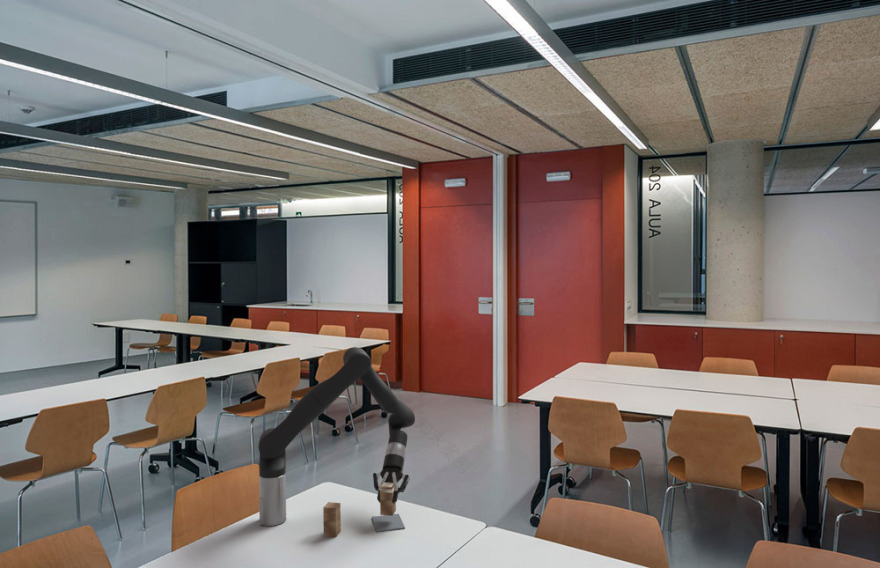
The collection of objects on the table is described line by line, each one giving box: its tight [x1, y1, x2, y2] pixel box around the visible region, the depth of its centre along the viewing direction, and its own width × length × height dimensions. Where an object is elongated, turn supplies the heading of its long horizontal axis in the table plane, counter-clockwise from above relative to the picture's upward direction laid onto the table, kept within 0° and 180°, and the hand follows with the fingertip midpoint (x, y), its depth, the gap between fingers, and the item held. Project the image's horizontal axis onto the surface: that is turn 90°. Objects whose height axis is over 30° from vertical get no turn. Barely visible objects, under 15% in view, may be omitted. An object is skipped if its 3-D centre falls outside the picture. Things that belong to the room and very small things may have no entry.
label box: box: [379, 483, 397, 516], centre depth 207 cm, size 5×5×10 cm
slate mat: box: [371, 513, 406, 533], centre depth 208 cm, size 10×12×1 cm
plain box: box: [322, 501, 342, 538], centre depth 199 cm, size 4×4×10 cm
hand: (386, 502), depth 206 cm, fingers closed on label box, 4 cm apart
